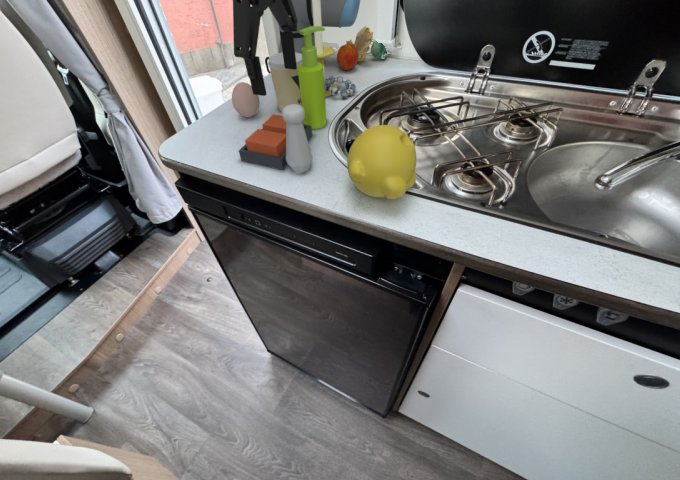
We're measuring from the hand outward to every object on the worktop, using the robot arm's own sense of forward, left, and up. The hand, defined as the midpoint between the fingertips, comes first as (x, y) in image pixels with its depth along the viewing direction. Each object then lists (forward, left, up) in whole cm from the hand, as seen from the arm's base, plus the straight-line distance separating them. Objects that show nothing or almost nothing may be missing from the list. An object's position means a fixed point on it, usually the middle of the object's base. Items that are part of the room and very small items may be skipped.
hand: (276, 80), depth 63 cm
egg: (-8, -16, -13) cm, 22 cm away
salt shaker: (+10, +9, -13) cm, 19 cm away
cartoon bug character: (-53, -1, -8) cm, 53 cm away
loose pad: (0, 0, -13) cm, 13 cm away
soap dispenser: (-10, +4, -13) cm, 17 cm away
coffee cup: (-16, -7, -13) cm, 22 cm away
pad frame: (+4, 0, -13) cm, 14 cm away
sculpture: (+14, +32, -12) cm, 37 cm away
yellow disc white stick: (-29, -3, -13) cm, 32 cm away
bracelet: (-29, +3, -13) cm, 32 cm away
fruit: (-46, -1, -13) cm, 48 cm away
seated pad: (+8, 0, -13) cm, 15 cm away
